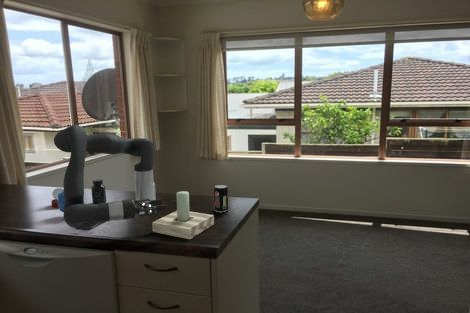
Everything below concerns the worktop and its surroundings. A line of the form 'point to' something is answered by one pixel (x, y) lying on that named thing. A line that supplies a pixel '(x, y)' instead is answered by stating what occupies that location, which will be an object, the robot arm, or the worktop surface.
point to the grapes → (61, 201)
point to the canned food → (56, 197)
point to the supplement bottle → (98, 192)
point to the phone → (89, 225)
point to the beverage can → (220, 198)
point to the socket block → (183, 225)
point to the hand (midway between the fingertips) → (163, 204)
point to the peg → (183, 206)
